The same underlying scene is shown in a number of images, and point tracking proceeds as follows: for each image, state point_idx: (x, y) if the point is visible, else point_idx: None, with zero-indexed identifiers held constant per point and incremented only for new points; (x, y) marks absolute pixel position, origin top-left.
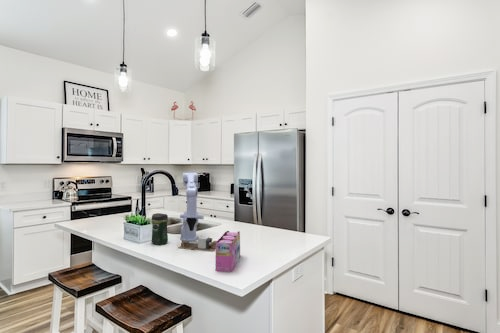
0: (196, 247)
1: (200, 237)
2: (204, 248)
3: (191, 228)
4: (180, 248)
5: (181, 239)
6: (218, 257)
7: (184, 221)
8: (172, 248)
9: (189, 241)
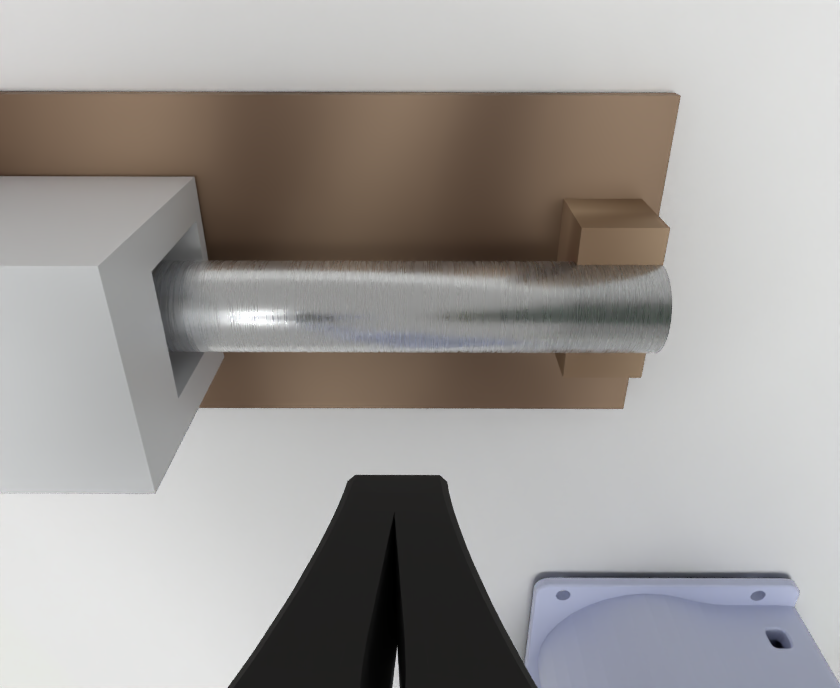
0: (263, 225)
1: (85, 364)
2: (26, 176)
3: (342, 539)
4: (609, 93)
5: (770, 582)
6: None
7: None
8: (811, 48)
9: (451, 296)
